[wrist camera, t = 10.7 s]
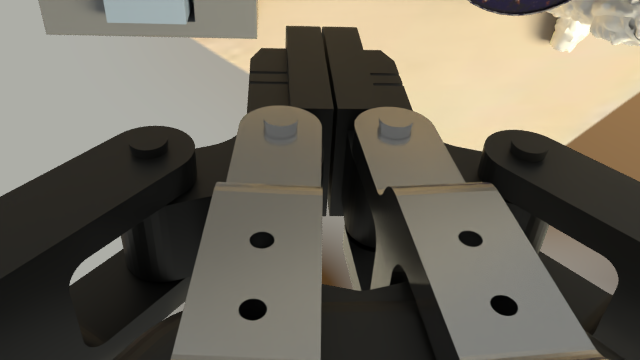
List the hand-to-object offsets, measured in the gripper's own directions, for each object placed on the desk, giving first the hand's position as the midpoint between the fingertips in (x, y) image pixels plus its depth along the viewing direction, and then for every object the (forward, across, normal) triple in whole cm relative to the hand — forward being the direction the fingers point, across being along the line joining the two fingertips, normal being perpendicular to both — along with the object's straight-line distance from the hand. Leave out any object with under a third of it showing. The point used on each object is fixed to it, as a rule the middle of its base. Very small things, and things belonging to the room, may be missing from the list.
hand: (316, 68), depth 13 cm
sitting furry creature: (+31, -20, +7) cm, 38 cm away
